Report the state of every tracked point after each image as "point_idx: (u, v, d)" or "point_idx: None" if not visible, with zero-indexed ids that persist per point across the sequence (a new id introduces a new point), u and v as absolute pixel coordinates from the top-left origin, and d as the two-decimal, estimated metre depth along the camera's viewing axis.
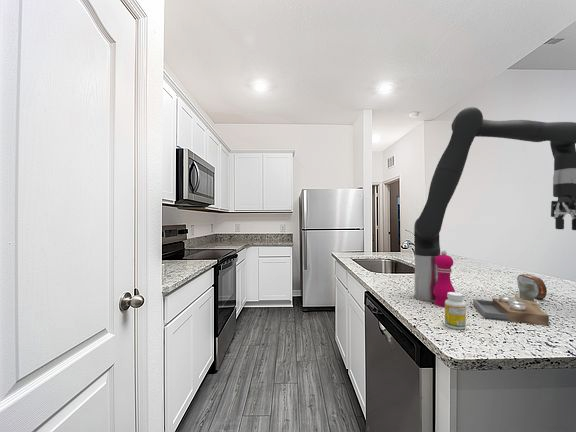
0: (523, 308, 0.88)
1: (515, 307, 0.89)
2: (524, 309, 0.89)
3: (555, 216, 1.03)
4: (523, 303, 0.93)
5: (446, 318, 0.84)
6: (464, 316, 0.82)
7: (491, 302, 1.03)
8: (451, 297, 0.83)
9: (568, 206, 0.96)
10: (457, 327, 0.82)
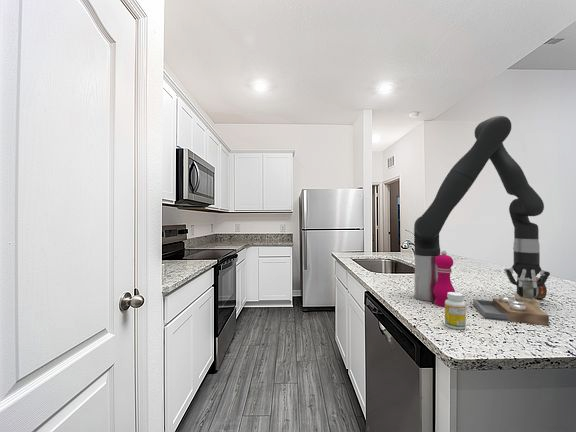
0: (523, 308, 0.88)
1: (515, 307, 0.89)
2: (524, 309, 0.89)
3: (521, 284, 1.07)
4: (523, 303, 0.93)
5: (446, 318, 0.84)
6: (464, 316, 0.82)
7: (491, 302, 1.03)
8: (451, 297, 0.83)
9: (535, 275, 1.05)
10: (457, 327, 0.82)
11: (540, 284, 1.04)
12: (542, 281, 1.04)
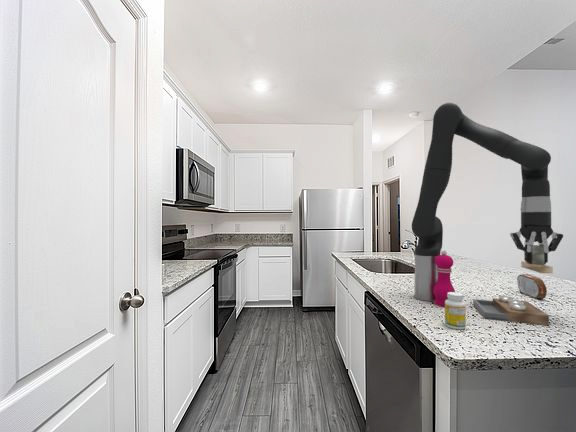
0: (523, 308, 0.88)
1: (515, 307, 0.89)
2: (524, 309, 0.89)
3: (530, 249, 0.93)
4: (523, 303, 0.93)
5: (446, 318, 0.84)
6: (464, 316, 0.82)
7: (491, 302, 1.03)
8: (451, 297, 0.83)
9: None
10: (457, 327, 0.82)
11: (552, 248, 0.91)
12: (554, 245, 0.91)
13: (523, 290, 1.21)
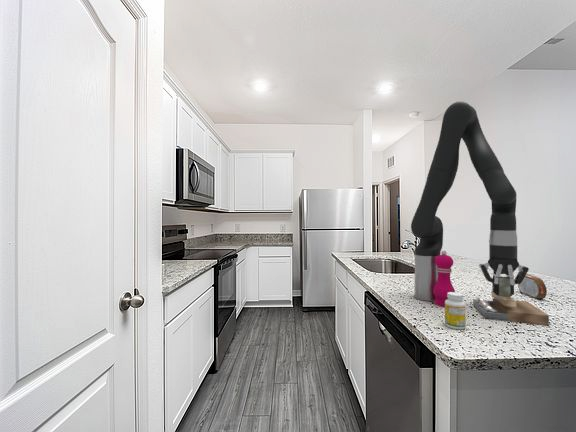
0: (489, 310, 0.92)
1: None
2: (488, 308, 0.92)
3: (497, 281, 0.95)
4: (481, 304, 0.97)
5: (446, 318, 0.84)
6: (464, 316, 0.82)
7: (491, 302, 1.03)
8: (451, 297, 0.83)
9: None
10: (457, 327, 0.82)
11: (518, 281, 0.93)
12: (520, 278, 0.93)
13: (523, 290, 1.21)
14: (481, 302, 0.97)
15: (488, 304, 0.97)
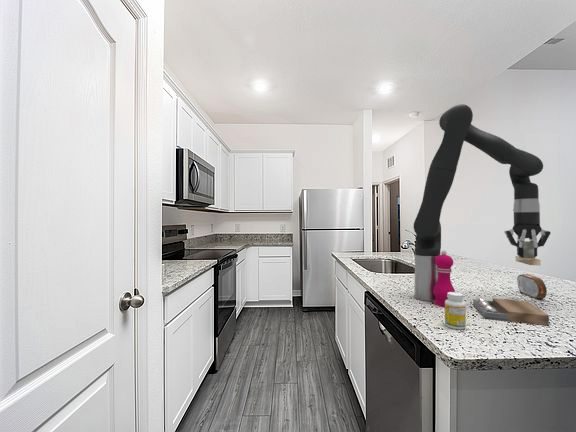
0: (489, 310, 0.92)
1: None
2: (488, 308, 0.92)
3: (521, 245, 1.06)
4: (481, 304, 0.97)
5: (446, 318, 0.84)
6: (464, 316, 0.82)
7: (491, 302, 1.03)
8: (451, 297, 0.83)
9: (535, 235, 1.05)
10: (457, 327, 0.82)
11: (541, 244, 1.04)
12: (543, 241, 1.04)
13: (523, 290, 1.21)
14: (481, 302, 0.97)
15: (488, 304, 0.97)
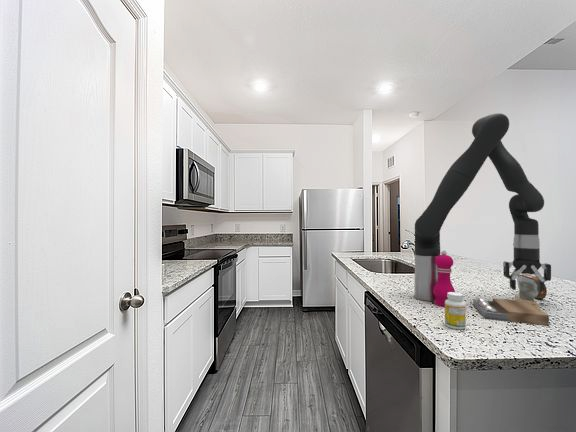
0: (489, 310, 0.92)
1: None
2: (488, 308, 0.92)
3: (514, 277, 1.07)
4: (481, 304, 0.97)
5: (446, 318, 0.84)
6: (464, 316, 0.82)
7: (491, 302, 1.03)
8: (451, 297, 0.83)
9: (537, 270, 1.05)
10: (457, 327, 0.82)
11: (548, 278, 1.04)
12: (548, 275, 1.04)
13: None
14: (481, 302, 0.97)
15: (488, 304, 0.97)
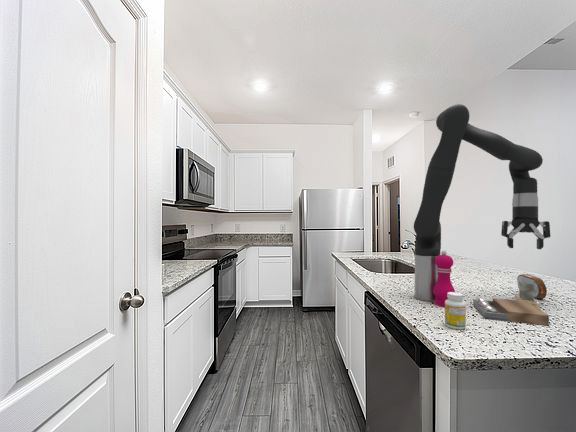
0: (489, 310, 0.92)
1: None
2: (488, 308, 0.92)
3: (512, 236, 1.08)
4: (481, 304, 0.97)
5: (446, 318, 0.84)
6: (464, 316, 0.82)
7: (491, 302, 1.03)
8: (451, 297, 0.83)
9: (535, 227, 1.05)
10: (457, 327, 0.82)
11: (547, 235, 1.04)
12: (547, 232, 1.04)
13: None
14: (481, 302, 0.97)
15: (488, 304, 0.97)
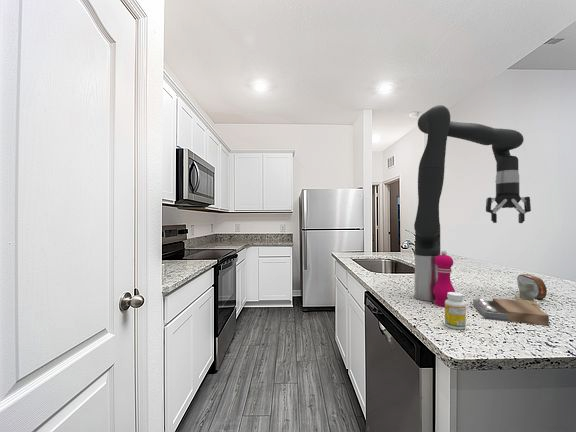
0: (489, 310, 0.92)
1: None
2: (488, 308, 0.92)
3: (495, 211, 1.15)
4: (481, 304, 0.97)
5: (446, 318, 0.84)
6: (464, 316, 0.82)
7: (491, 302, 1.03)
8: (451, 297, 0.83)
9: (517, 202, 1.12)
10: (457, 327, 0.82)
11: (528, 209, 1.11)
12: (528, 206, 1.11)
13: None
14: (481, 302, 0.97)
15: (488, 304, 0.97)
